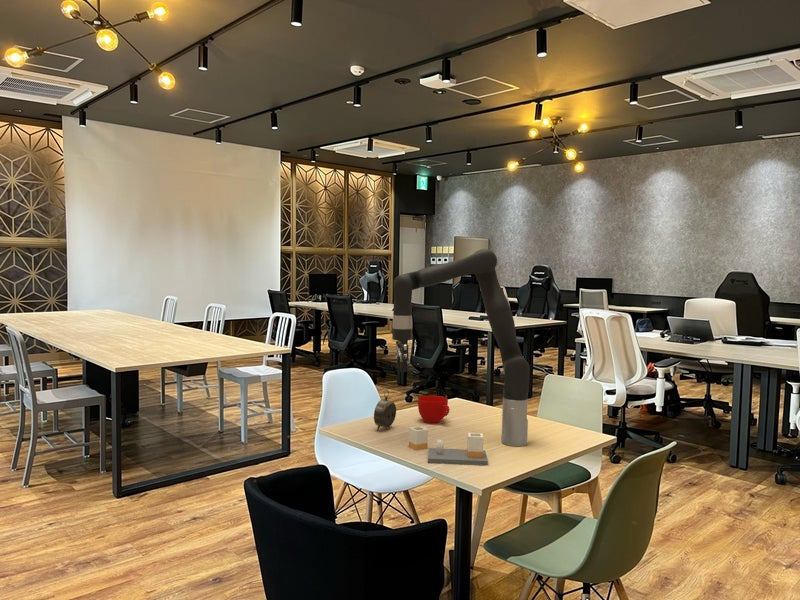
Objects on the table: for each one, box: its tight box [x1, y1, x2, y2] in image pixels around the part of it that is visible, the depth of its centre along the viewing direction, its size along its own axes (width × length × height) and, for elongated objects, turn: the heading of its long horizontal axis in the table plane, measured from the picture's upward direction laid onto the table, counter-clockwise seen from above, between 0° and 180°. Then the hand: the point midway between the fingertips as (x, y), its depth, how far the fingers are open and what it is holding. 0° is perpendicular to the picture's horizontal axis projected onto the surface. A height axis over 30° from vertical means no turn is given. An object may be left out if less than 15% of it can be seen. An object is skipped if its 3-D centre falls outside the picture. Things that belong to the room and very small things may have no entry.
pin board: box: [427, 432, 489, 466], centre depth 202 cm, size 20×12×8 cm, turn 86°
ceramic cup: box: [417, 395, 451, 424], centre depth 251 cm, size 13×17×10 cm
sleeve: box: [408, 425, 429, 451], centre depth 214 cm, size 5×5×7 cm
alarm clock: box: [373, 389, 397, 432], centre depth 238 cm, size 11×5×16 cm, turn 149°
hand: (401, 369), depth 223 cm, fingers open, 8 cm apart
